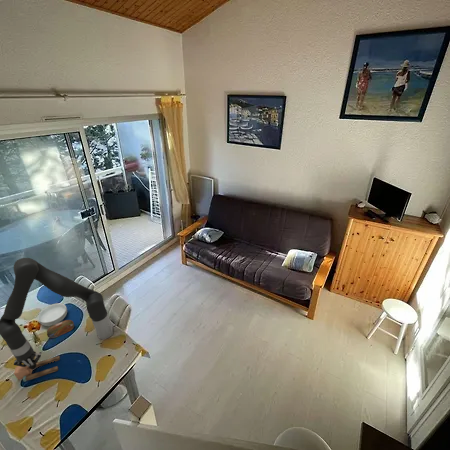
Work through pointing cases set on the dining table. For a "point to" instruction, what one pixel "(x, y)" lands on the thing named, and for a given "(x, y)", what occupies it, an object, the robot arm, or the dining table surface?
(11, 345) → the robot arm
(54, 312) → the cereal bowl
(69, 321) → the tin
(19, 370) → the block
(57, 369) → the pair of brown rods
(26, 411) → the dining table surface
